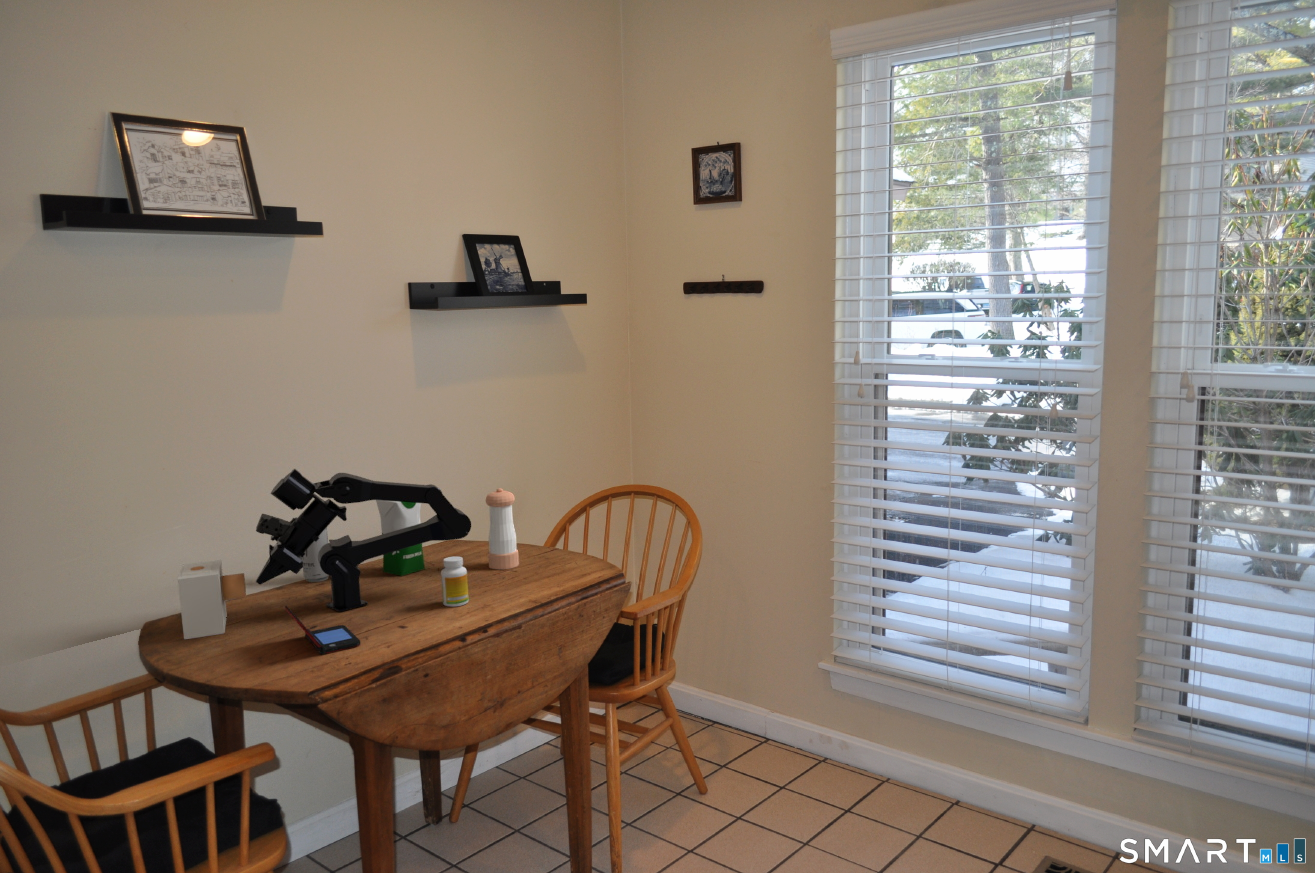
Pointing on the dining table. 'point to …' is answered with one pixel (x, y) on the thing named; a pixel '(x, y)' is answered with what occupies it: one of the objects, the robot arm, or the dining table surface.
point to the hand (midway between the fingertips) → (257, 582)
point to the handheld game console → (329, 637)
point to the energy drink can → (314, 560)
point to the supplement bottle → (454, 582)
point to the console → (202, 599)
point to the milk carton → (396, 519)
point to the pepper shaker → (502, 531)
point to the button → (233, 586)
